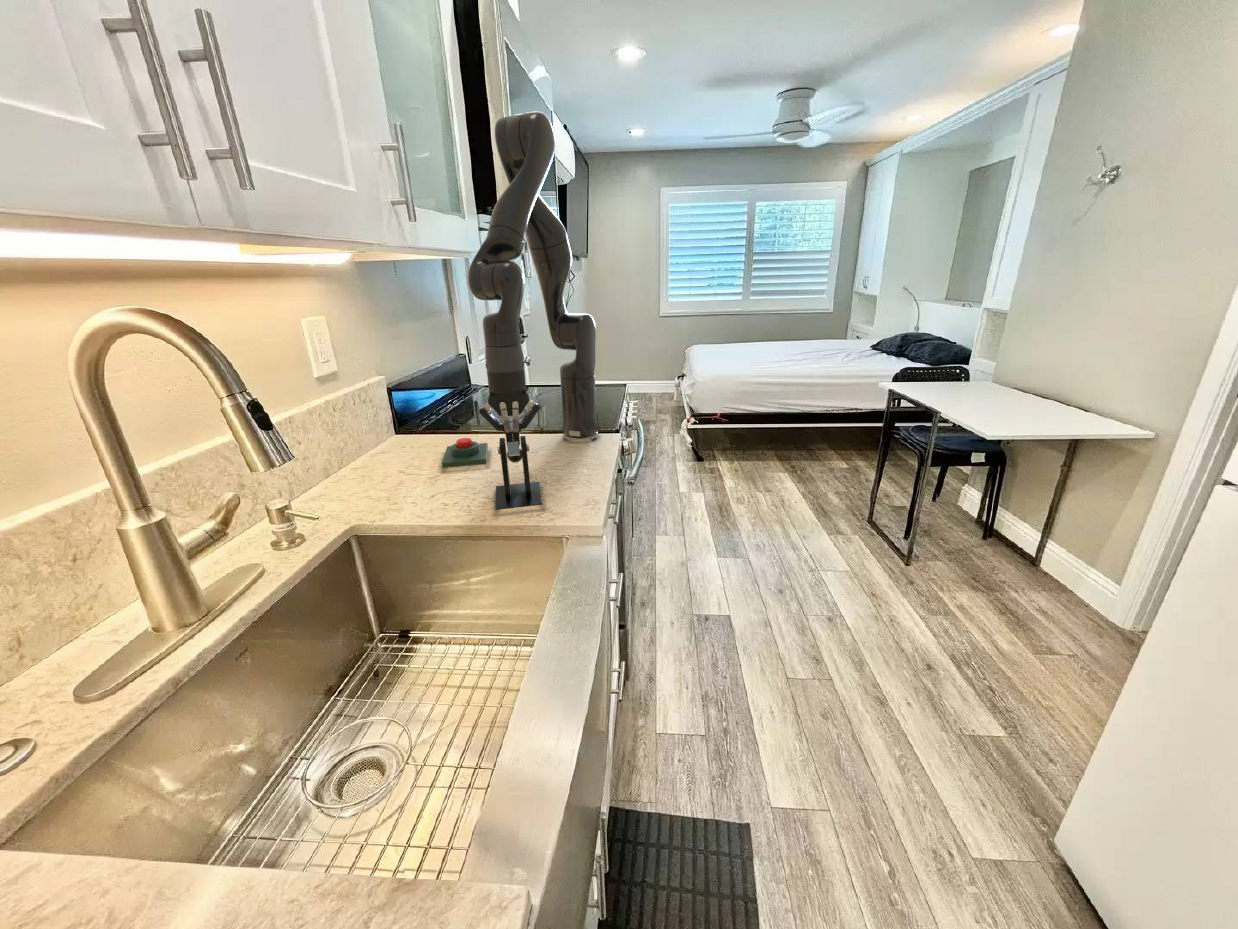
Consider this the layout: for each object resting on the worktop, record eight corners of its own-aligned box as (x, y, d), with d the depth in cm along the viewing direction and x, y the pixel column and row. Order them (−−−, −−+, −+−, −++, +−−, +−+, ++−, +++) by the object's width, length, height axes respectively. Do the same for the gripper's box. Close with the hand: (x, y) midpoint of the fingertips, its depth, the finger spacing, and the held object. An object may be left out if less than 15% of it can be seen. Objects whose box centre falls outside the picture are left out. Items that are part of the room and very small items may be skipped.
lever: (508, 463, 108) (506, 448, 108) (523, 462, 108) (522, 447, 109) (505, 457, 94) (503, 440, 94) (523, 456, 95) (521, 438, 95)
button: (457, 445, 121) (456, 438, 121) (473, 443, 122) (472, 437, 121) (456, 450, 118) (455, 443, 117) (472, 448, 119) (471, 441, 118)
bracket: (496, 491, 104) (489, 433, 99) (539, 486, 106) (534, 429, 101) (496, 514, 94) (487, 451, 89) (543, 509, 96) (537, 447, 91)
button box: (448, 454, 126) (446, 439, 124) (488, 450, 128) (486, 436, 126) (443, 471, 115) (440, 455, 113) (486, 467, 117) (484, 451, 115)
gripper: (537, 362, 104) (543, 439, 110) (472, 366, 102) (482, 444, 108) (539, 368, 97) (545, 450, 104) (470, 372, 95) (481, 456, 101)
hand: (513, 447), depth 106 cm, fingers closed
